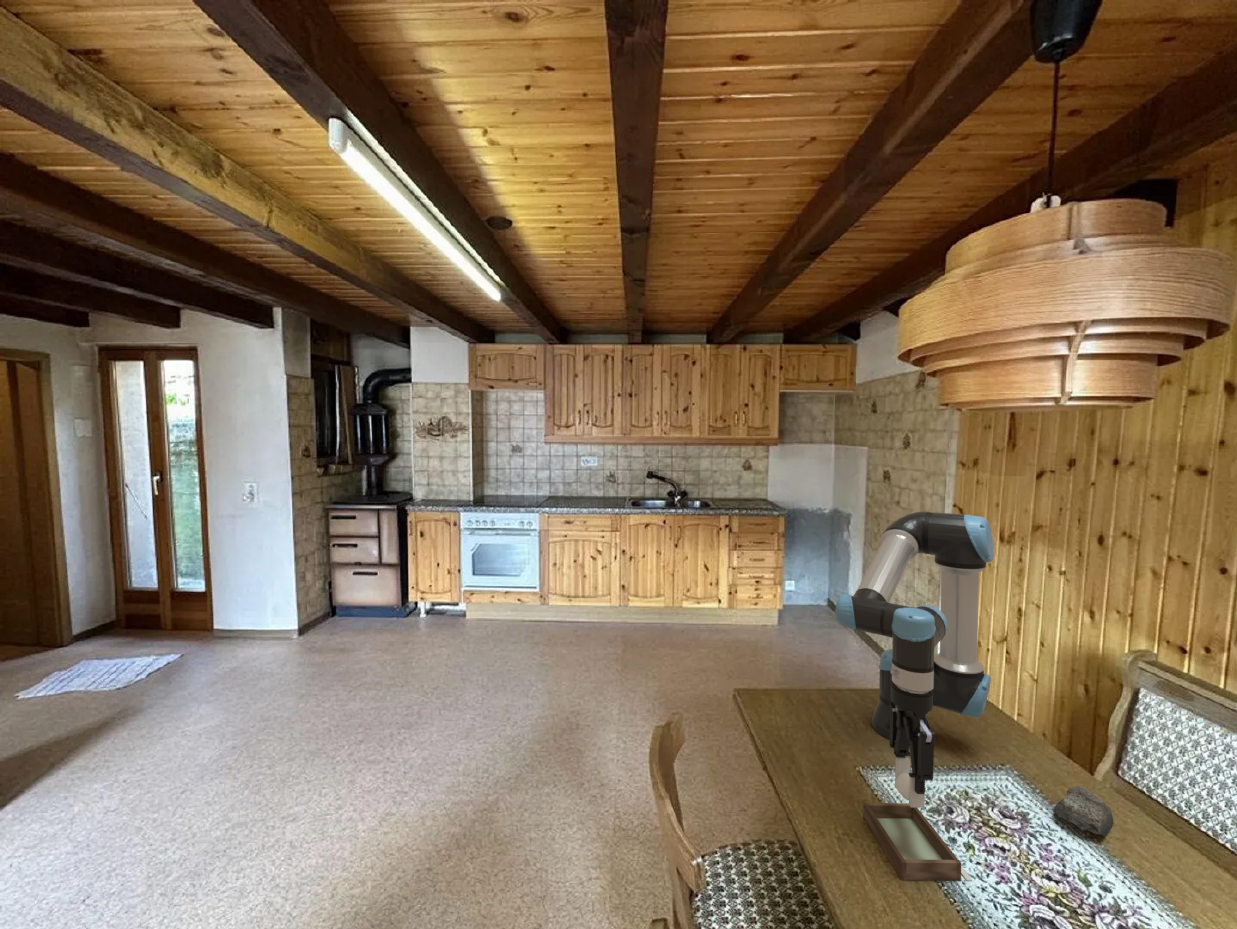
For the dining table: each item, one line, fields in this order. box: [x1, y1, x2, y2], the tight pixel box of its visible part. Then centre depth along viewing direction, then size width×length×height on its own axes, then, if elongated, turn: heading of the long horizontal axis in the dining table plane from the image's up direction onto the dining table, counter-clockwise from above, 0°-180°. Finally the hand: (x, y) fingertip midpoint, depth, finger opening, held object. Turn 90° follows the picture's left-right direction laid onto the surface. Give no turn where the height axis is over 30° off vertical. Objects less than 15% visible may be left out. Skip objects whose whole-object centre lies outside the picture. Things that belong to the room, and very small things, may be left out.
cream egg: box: [895, 773, 909, 801], centre depth 109 cm, size 5×5×5 cm
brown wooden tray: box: [862, 802, 962, 882], centre depth 110 cm, size 11×17×4 cm, turn 179°
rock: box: [1052, 785, 1114, 837], centre depth 117 cm, size 13×9×6 cm, turn 125°
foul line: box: [961, 866, 973, 882], centre depth 110 cm, size 1×17×1 cm, turn 179°
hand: (909, 796), depth 110 cm, fingers closed on cream egg, 5 cm apart
